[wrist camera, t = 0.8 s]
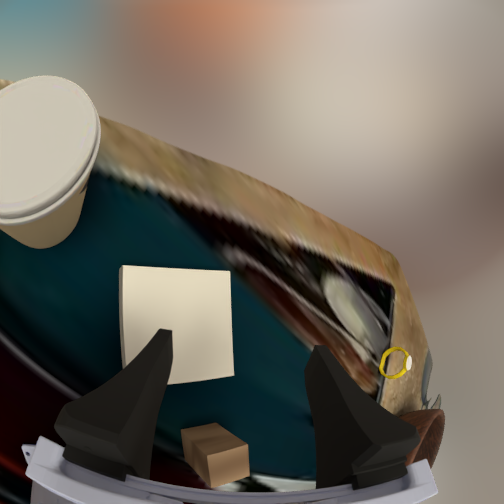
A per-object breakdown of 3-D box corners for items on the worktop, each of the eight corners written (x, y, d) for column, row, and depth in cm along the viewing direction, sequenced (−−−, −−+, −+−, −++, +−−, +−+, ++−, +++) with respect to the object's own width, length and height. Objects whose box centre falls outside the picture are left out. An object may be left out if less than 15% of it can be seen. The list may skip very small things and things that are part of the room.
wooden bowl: (402, 465, 48) (433, 471, 40) (350, 514, 34) (387, 527, 26) (415, 391, 53) (450, 393, 45) (365, 432, 39) (412, 442, 30)
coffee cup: (107, 223, 22) (129, 162, 12) (25, 279, 17) (-23, 258, 7) (67, 145, 20) (76, 54, 11) (-11, 191, 15) (-51, 117, 5)
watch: (381, 345, 45) (409, 343, 40) (386, 350, 46) (414, 348, 41) (374, 376, 42) (404, 376, 37) (380, 379, 43) (408, 379, 38)
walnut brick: (218, 451, 24) (249, 475, 19) (185, 459, 21) (211, 488, 17) (215, 422, 24) (247, 444, 20) (180, 429, 22) (207, 455, 17)
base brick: (219, 369, 26) (233, 375, 24) (123, 378, 21) (128, 387, 18) (215, 274, 28) (229, 271, 26) (118, 269, 23) (123, 265, 20)
